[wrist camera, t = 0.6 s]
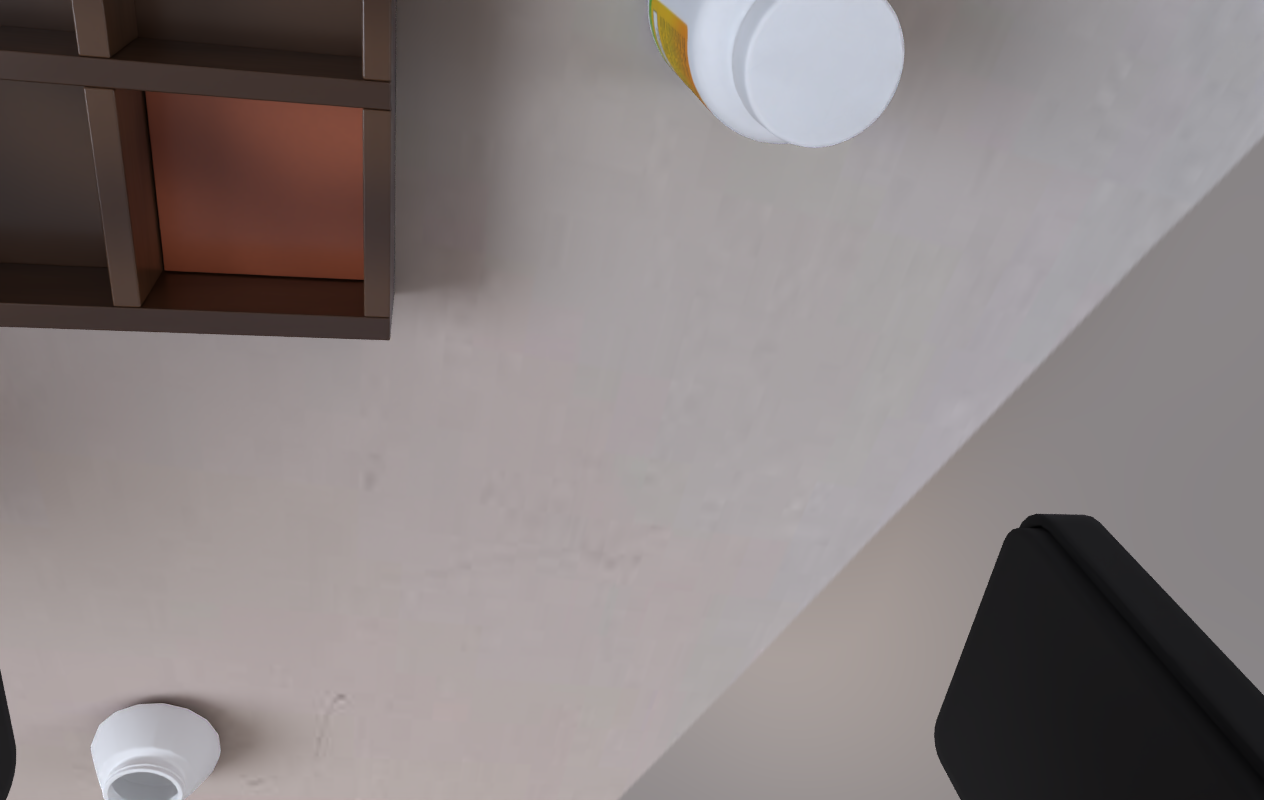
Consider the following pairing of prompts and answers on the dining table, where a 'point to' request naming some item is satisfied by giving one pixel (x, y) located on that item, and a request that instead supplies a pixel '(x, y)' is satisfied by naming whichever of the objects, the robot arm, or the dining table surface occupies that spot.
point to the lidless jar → (154, 752)
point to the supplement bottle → (784, 63)
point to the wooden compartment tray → (198, 166)
